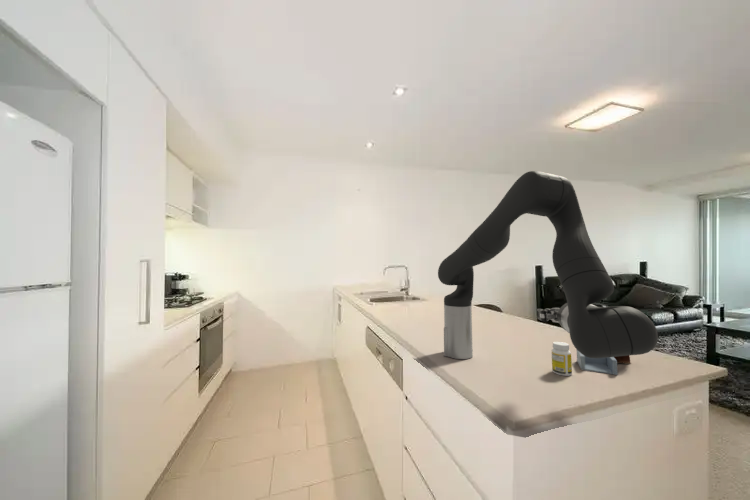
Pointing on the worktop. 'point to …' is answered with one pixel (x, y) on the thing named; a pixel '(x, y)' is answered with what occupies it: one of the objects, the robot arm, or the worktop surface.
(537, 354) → the worktop surface
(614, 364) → the grey-blue square open box
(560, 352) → the supplement bottle
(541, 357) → the worktop surface
